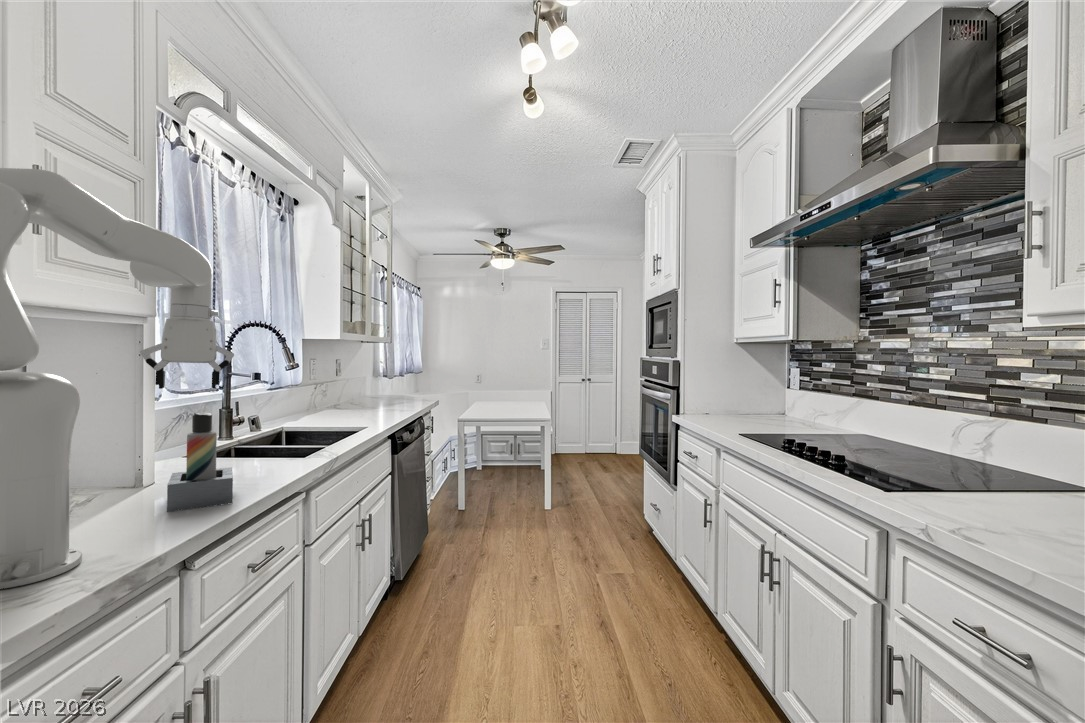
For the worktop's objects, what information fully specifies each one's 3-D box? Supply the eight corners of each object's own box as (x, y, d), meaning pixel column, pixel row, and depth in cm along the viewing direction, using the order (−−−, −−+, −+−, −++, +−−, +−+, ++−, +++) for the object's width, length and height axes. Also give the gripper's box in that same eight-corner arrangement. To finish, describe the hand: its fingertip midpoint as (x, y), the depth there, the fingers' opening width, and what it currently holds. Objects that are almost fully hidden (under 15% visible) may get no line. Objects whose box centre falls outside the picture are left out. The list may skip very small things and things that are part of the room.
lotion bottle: (191, 494, 113) (193, 411, 113) (219, 492, 115) (220, 410, 115) (181, 501, 108) (183, 414, 108) (210, 499, 110) (212, 413, 109)
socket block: (232, 503, 110) (232, 477, 110) (167, 511, 103) (167, 484, 103) (231, 490, 120) (232, 467, 120) (172, 497, 113) (172, 473, 113)
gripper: (235, 318, 117) (233, 387, 116) (144, 312, 107) (142, 387, 107) (235, 315, 110) (233, 388, 110) (139, 309, 101) (136, 389, 101)
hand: (188, 388), depth 108 cm, fingers open, 9 cm apart
